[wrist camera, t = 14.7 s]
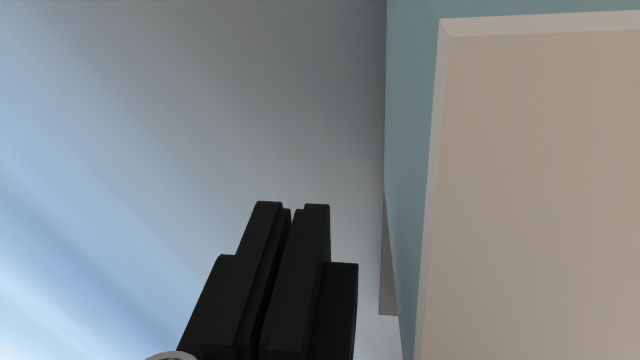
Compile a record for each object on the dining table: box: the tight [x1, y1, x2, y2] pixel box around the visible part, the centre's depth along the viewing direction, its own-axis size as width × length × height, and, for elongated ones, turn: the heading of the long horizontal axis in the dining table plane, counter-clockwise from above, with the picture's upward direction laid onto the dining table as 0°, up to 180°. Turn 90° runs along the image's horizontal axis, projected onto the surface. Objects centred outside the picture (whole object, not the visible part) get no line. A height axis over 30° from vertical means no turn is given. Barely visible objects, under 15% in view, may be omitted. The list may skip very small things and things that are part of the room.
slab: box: [384, 0, 640, 360], centre depth 10 cm, size 7×3×8 cm, turn 3°
